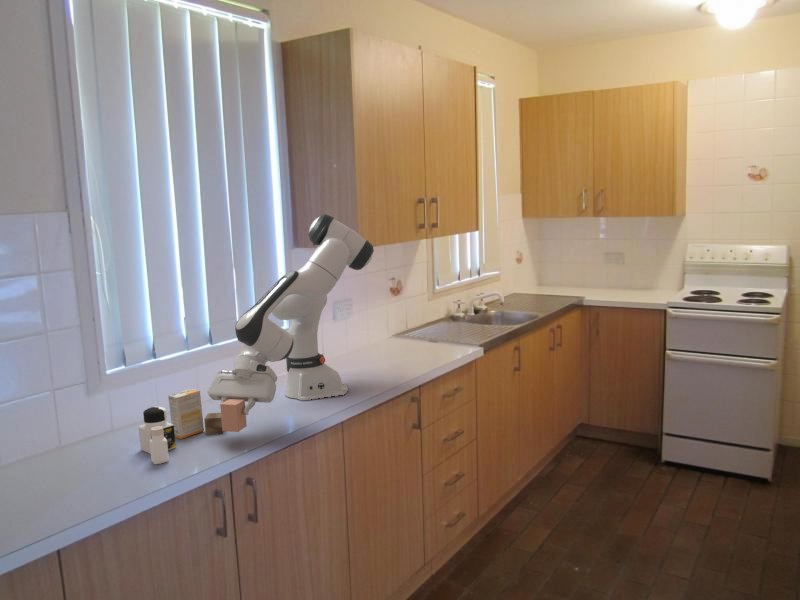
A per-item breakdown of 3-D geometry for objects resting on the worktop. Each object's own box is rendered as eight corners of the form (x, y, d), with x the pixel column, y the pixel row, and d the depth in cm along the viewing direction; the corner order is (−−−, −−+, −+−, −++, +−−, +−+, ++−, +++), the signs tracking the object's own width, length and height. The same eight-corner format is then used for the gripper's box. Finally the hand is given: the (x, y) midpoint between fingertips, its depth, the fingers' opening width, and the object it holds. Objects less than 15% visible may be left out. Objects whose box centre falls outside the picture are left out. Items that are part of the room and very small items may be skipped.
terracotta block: (231, 425, 191) (229, 398, 190) (246, 426, 190) (244, 399, 189) (222, 431, 186) (220, 404, 185) (238, 432, 185) (236, 404, 184)
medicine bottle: (153, 455, 182) (148, 414, 180) (140, 450, 186) (136, 409, 184) (176, 447, 187) (172, 407, 185) (163, 442, 192) (159, 403, 190)
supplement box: (195, 428, 203) (191, 387, 201) (204, 431, 200) (200, 390, 198) (171, 436, 196) (167, 394, 194) (180, 439, 193) (176, 397, 191)
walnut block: (225, 427, 202) (224, 412, 202) (222, 433, 198) (221, 417, 197) (208, 429, 202) (207, 413, 201) (205, 434, 197) (204, 418, 196)
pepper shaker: (166, 457, 180) (162, 424, 178) (169, 462, 176) (166, 428, 175) (150, 461, 178) (147, 427, 176) (154, 465, 174) (150, 431, 173)
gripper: (212, 365, 196) (197, 406, 188) (274, 367, 191) (261, 410, 183) (221, 375, 201) (207, 416, 193) (282, 378, 196) (270, 420, 188)
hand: (234, 413), depth 188 cm, fingers closed on terracotta block, 5 cm apart
